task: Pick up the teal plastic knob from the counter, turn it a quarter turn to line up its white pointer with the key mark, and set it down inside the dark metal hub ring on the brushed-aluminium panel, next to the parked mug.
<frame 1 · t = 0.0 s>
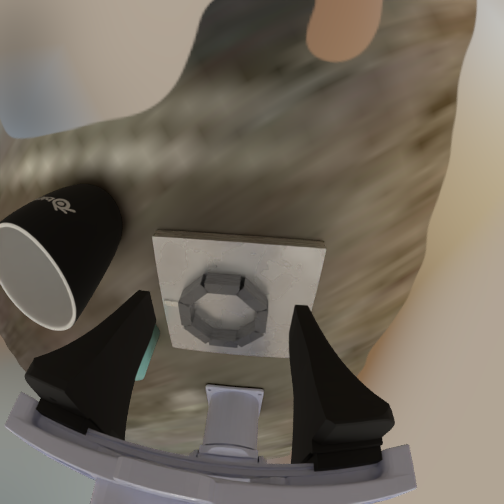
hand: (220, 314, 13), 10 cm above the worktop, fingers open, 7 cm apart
mug: (83, 215, 22), on the worktop
panel: (236, 300, 26), on the worktop
knob: (142, 328, 29), on the worktop
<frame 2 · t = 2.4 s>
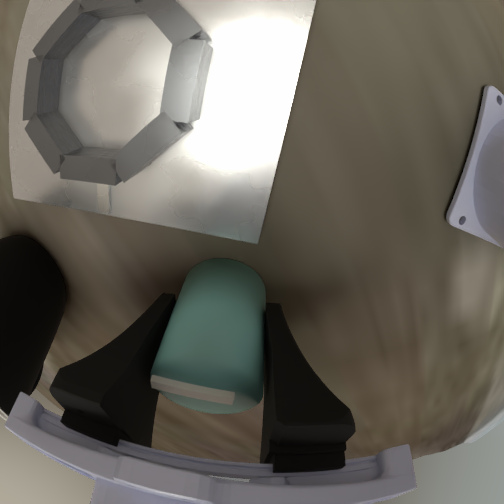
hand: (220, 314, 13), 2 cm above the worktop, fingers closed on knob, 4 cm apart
mug: (41, 287, 16), on the worktop
panel: (129, 59, 8), on the worktop
knob: (224, 292, 15), on the worktop, touching gripper
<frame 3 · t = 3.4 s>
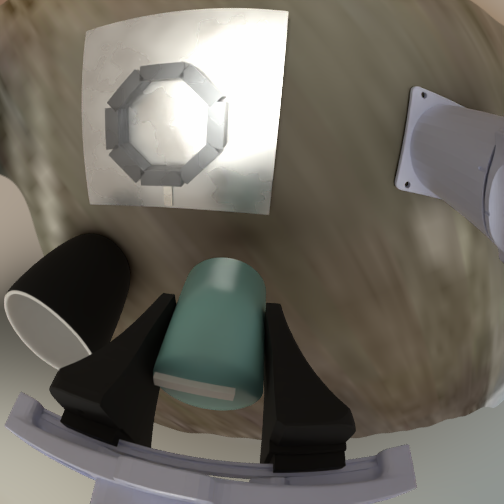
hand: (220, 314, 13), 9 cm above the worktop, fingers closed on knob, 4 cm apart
mug: (105, 274, 24), on the worktop
panel: (173, 107, 16), on the worktop
knob: (225, 291, 15), point 7 cm above the worktop, touching gripper
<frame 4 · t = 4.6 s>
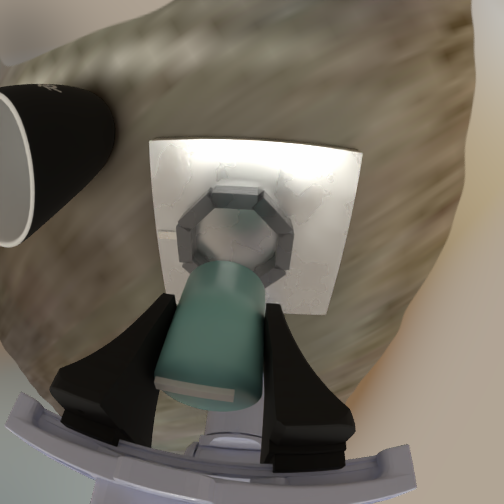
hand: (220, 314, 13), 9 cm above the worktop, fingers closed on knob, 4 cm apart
mug: (71, 135, 17), on the worktop
panel: (250, 231, 21), on the worktop
knob: (224, 294, 15), point 7 cm above the worktop, touching gripper
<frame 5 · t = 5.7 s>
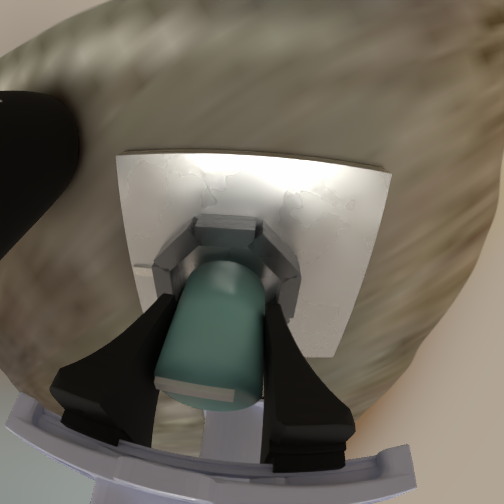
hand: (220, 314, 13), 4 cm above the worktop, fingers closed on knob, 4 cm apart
mug: (34, 147, 13), on the worktop
panel: (246, 267, 17), on the worktop
knob: (224, 293, 15), point 2 cm above the worktop, touching gripper
when the fingers open (3 cm above the worktop, at t = 6.8 s): knob stays where it is, resting on panel.
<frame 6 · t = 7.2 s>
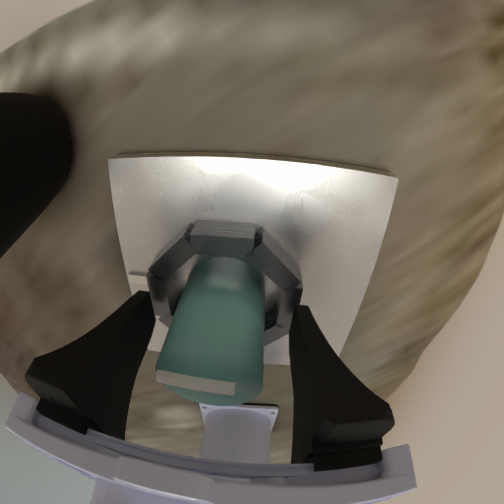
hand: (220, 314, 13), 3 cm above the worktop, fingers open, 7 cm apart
mug: (26, 150, 12), on the worktop
panel: (245, 274, 16), on the worktop
knob: (225, 290, 15), point 1 cm above the worktop, touching panel
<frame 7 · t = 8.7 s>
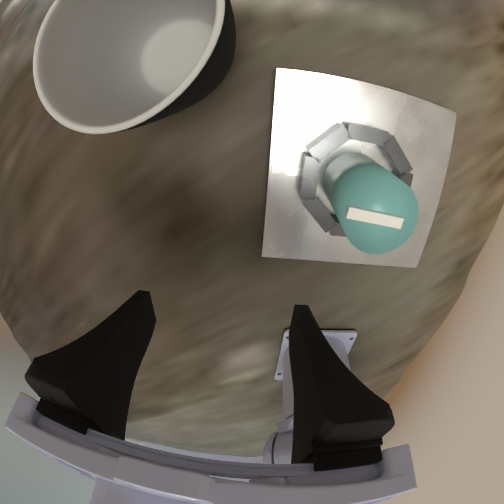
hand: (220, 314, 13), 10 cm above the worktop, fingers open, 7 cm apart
mug: (163, 59, 15), on the worktop
panel: (361, 175, 19), on the worktop
knob: (353, 182, 18), point 1 cm above the worktop, touching panel
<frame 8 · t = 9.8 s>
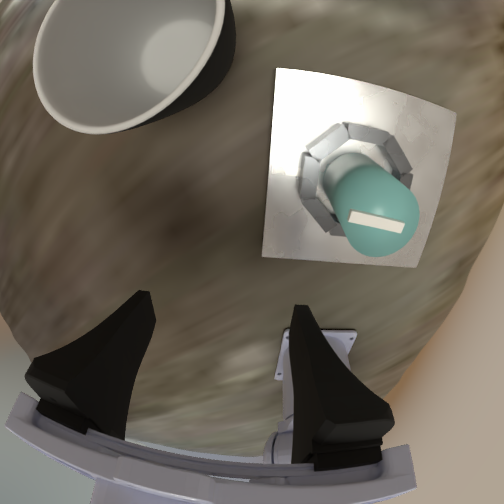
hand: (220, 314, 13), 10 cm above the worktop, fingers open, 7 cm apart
mug: (163, 59, 15), on the worktop
panel: (361, 175, 19), on the worktop
knob: (353, 182, 18), point 1 cm above the worktop, touching panel
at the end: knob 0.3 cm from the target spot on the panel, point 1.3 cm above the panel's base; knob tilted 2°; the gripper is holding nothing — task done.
